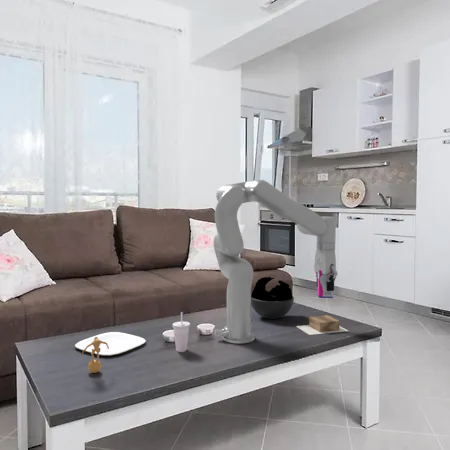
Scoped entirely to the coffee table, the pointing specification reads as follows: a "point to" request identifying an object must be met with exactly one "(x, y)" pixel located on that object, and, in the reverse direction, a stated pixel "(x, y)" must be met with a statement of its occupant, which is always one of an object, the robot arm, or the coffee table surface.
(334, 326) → the walnut block
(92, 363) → the figurine
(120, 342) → the plate
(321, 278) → the supplement box
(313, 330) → the board
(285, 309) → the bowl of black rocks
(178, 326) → the smoothie
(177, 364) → the coffee table surface
